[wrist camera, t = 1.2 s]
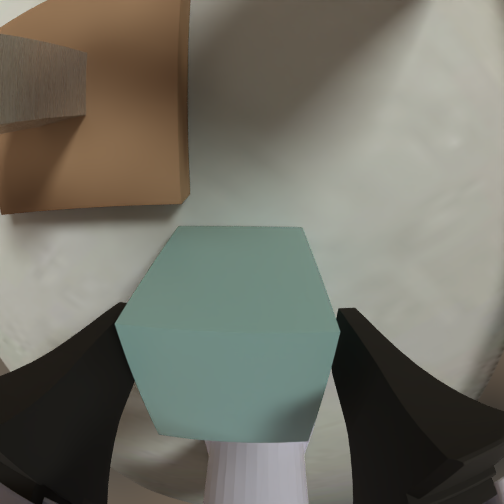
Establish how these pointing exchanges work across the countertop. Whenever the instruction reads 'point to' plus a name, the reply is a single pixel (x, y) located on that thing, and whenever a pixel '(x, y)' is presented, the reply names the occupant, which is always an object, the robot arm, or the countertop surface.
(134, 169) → the stand board
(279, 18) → the countertop surface
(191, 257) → the sage green cube
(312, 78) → the countertop surface
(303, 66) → the countertop surface
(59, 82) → the post
